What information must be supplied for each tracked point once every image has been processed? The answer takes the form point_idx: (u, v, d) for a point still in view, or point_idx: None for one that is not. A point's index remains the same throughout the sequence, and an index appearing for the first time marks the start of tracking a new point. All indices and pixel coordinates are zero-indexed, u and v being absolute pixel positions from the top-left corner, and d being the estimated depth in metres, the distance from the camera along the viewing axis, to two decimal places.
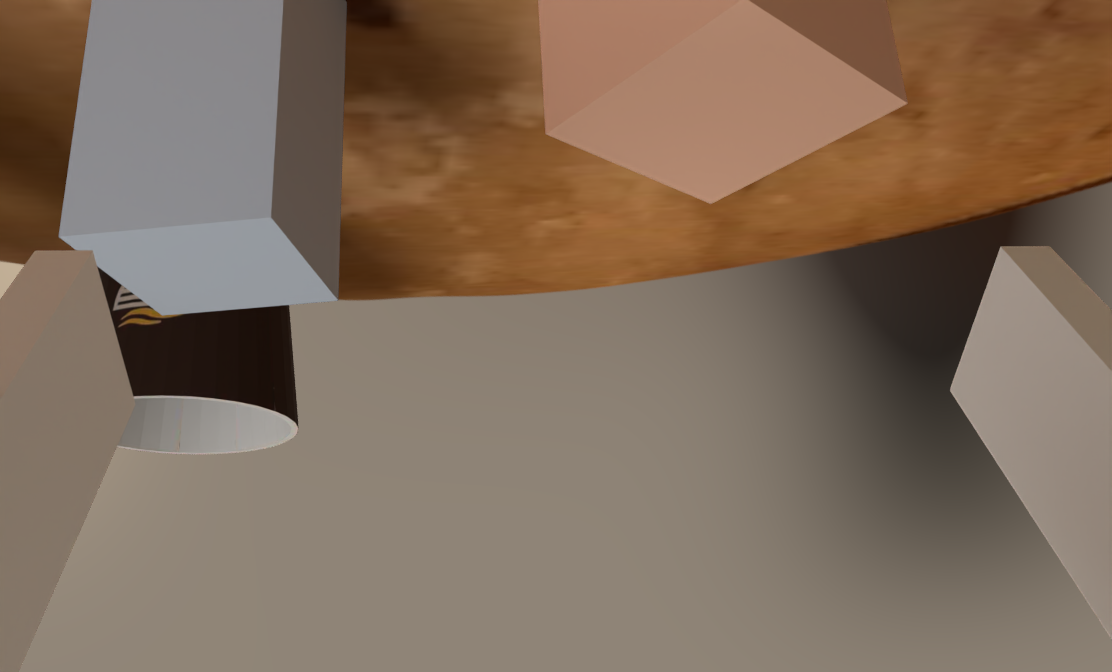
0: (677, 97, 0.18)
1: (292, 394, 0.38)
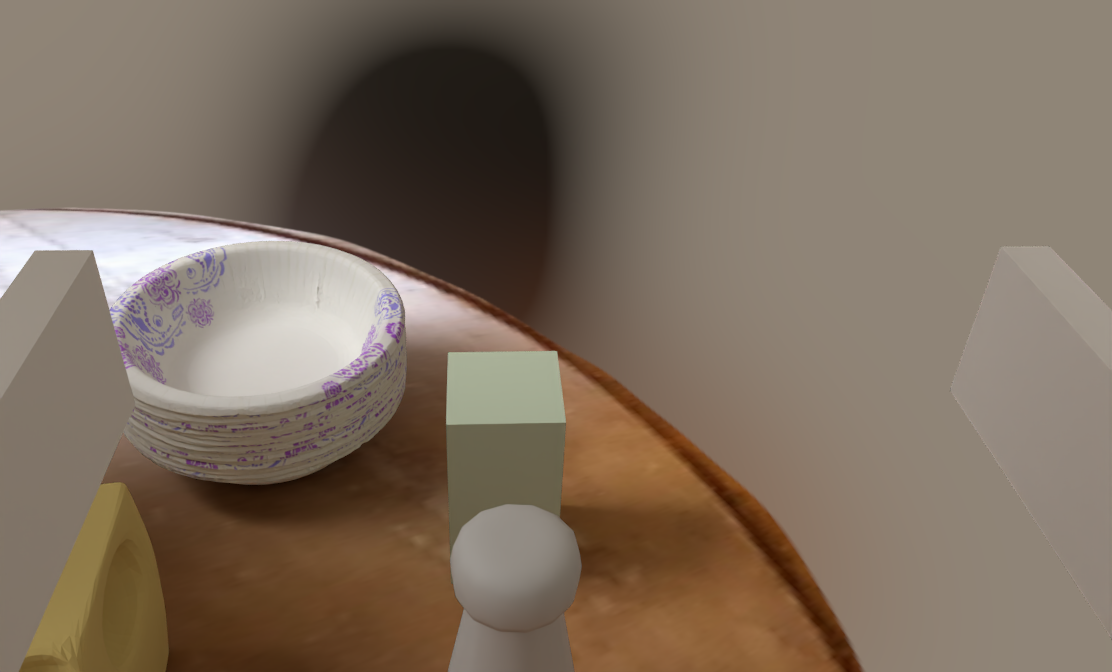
0: None
1: None
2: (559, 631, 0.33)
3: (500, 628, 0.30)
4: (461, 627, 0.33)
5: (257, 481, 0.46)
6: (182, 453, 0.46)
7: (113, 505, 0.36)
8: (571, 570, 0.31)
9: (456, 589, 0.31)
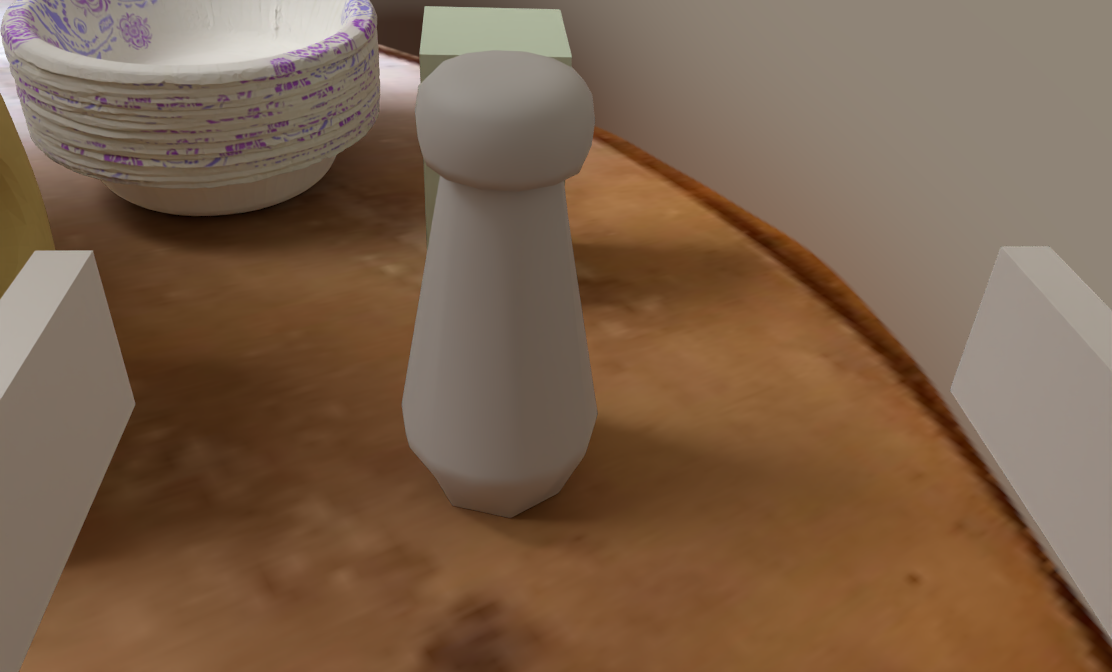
0: None
1: None
2: (564, 224, 0.24)
3: (482, 181, 0.22)
4: (432, 234, 0.25)
5: (192, 186, 0.38)
6: (98, 144, 0.37)
7: None
8: (582, 103, 0.22)
9: (422, 135, 0.22)
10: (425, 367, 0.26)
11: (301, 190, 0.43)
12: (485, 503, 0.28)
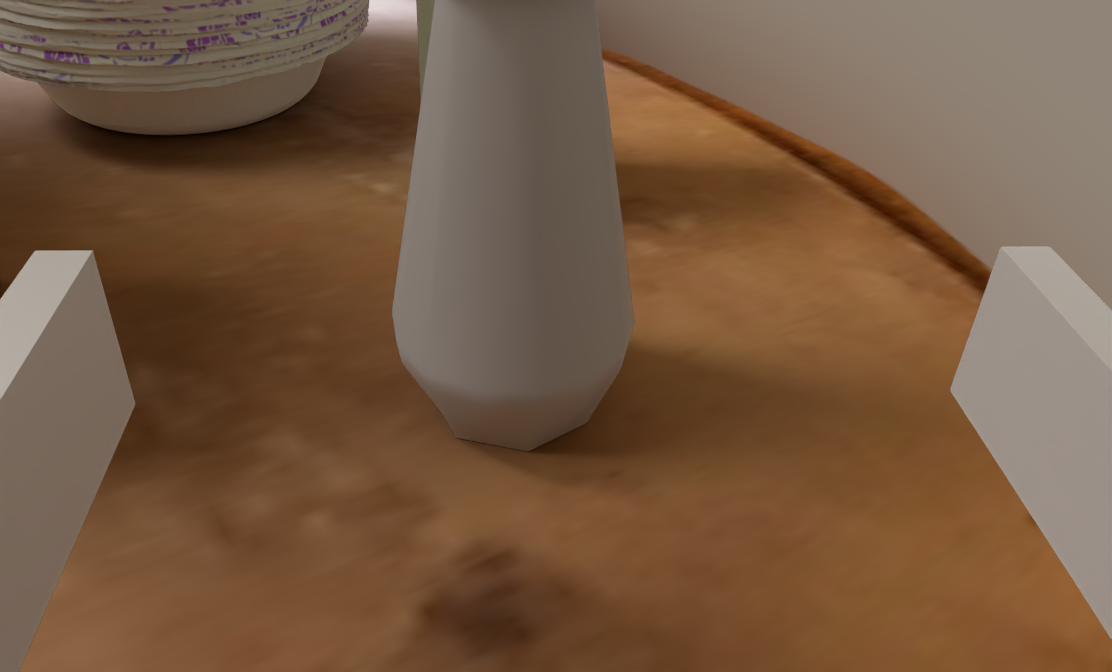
0: None
1: None
2: (597, 51, 0.19)
3: None
4: (427, 74, 0.20)
5: (149, 90, 0.32)
6: (37, 38, 0.32)
7: None
8: None
9: None
10: (419, 253, 0.21)
11: (279, 108, 0.38)
12: (497, 431, 0.22)
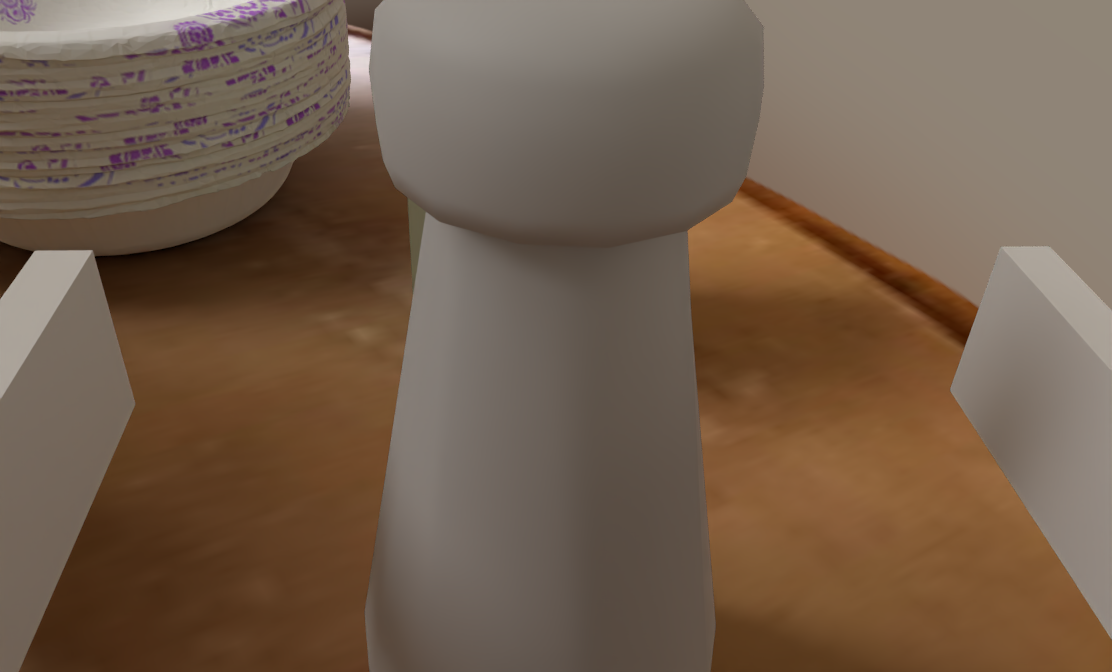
0: None
1: None
2: (688, 308, 0.11)
3: (524, 225, 0.09)
4: (413, 324, 0.12)
5: (63, 216, 0.25)
6: None
7: None
8: (753, 42, 0.10)
9: (383, 121, 0.10)
10: (402, 578, 0.13)
11: (239, 217, 0.30)
12: None
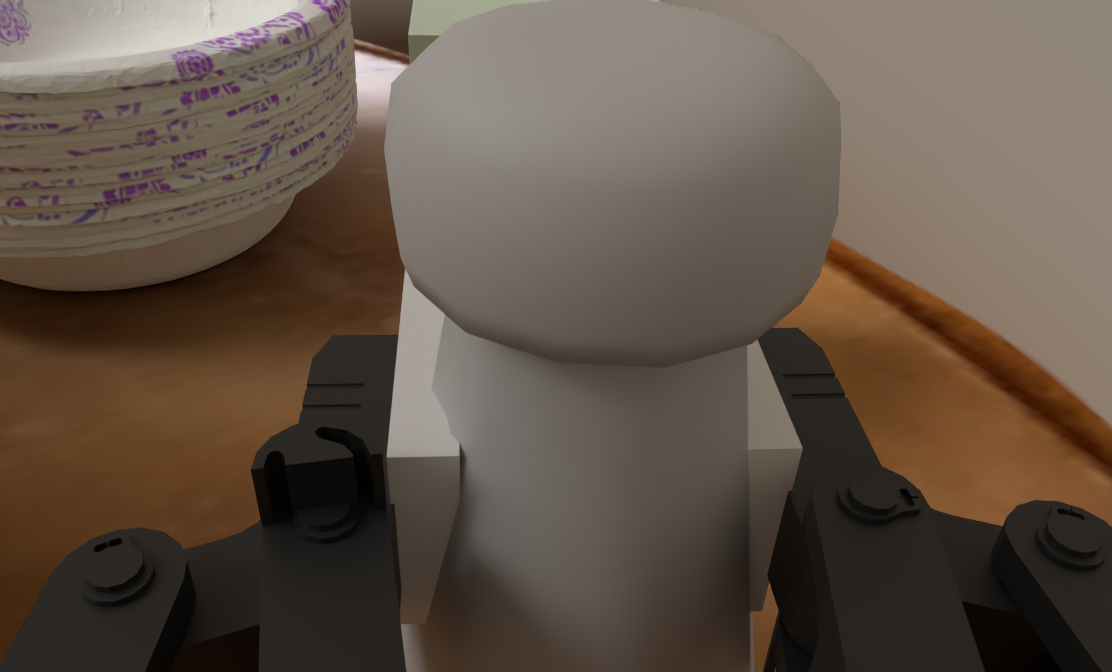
0: None
1: None
2: (745, 413, 0.10)
3: (567, 343, 0.08)
4: None
5: (54, 255, 0.24)
6: None
7: None
8: (834, 128, 0.08)
9: (400, 216, 0.08)
10: None
11: (240, 249, 0.29)
12: None
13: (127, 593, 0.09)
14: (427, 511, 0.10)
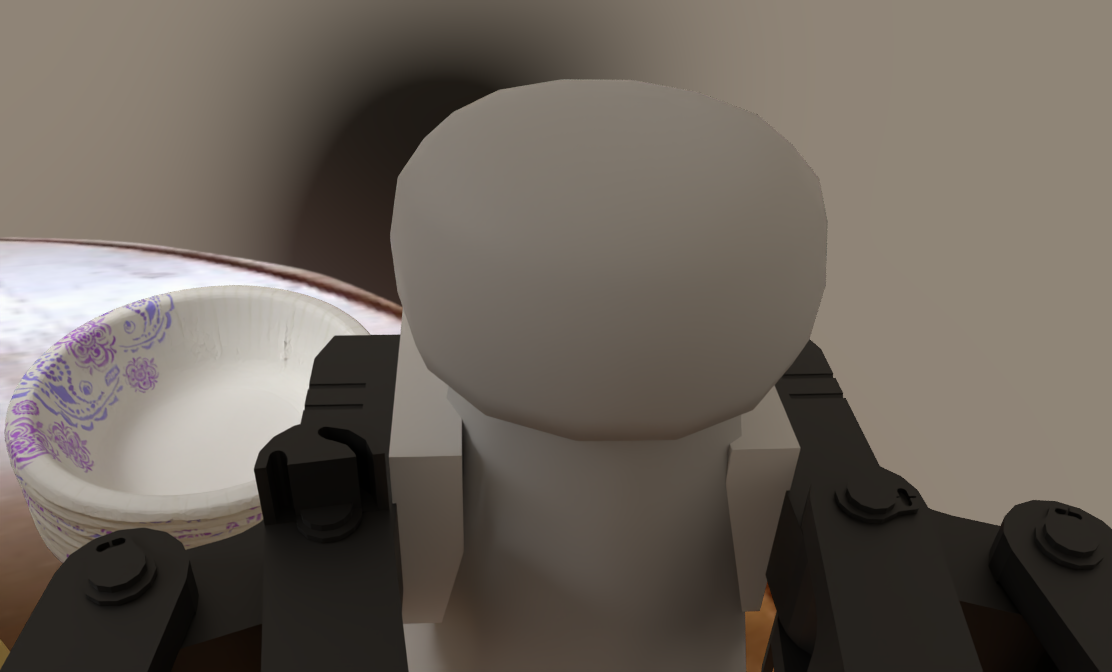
0: None
1: None
2: None
3: (587, 424, 0.08)
4: None
5: None
6: None
7: None
8: (820, 208, 0.09)
9: (418, 307, 0.09)
10: None
11: None
12: None
13: (130, 593, 0.09)
14: (429, 511, 0.10)
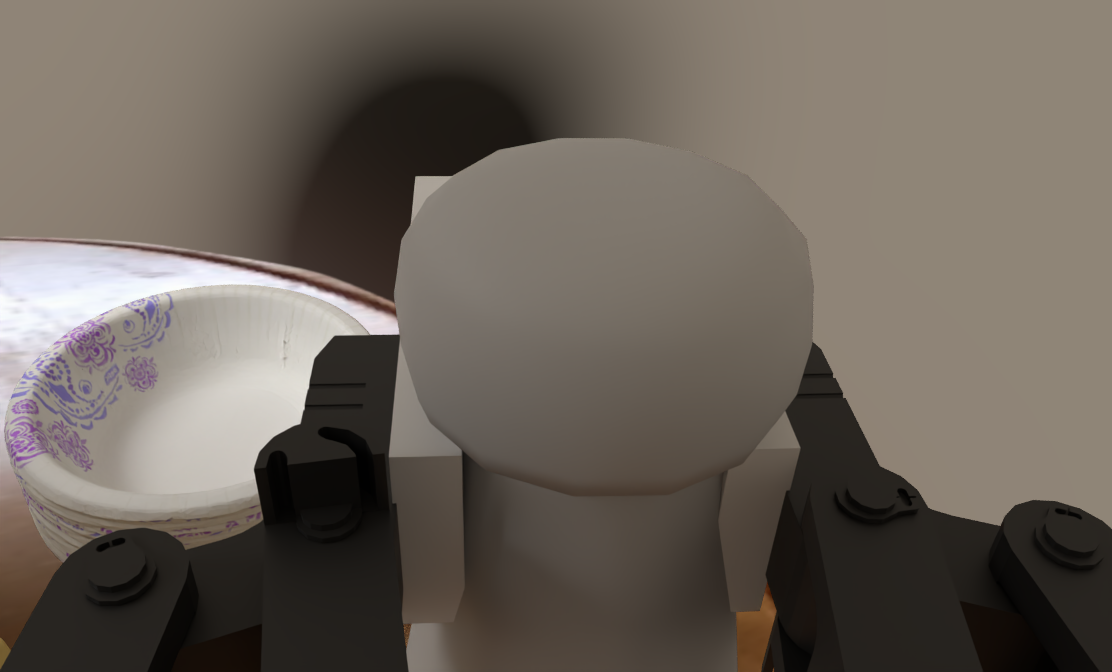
0: None
1: None
2: None
3: (583, 482, 0.09)
4: None
5: None
6: None
7: None
8: (807, 273, 0.09)
9: (422, 367, 0.09)
10: None
11: None
12: None
13: (130, 593, 0.09)
14: (429, 512, 0.10)
